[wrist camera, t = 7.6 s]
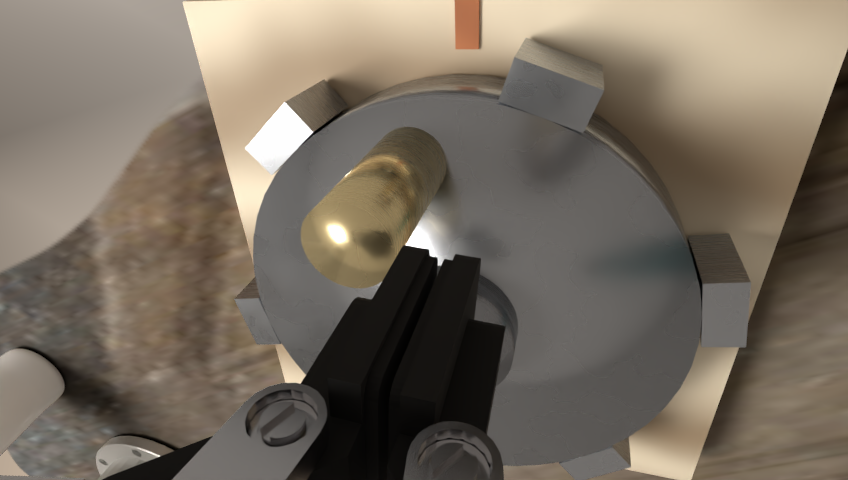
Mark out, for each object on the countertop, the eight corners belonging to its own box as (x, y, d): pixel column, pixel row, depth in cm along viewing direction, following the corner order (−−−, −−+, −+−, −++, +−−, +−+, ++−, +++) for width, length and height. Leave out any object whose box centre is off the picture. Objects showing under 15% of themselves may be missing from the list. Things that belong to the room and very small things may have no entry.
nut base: (684, 447, 26) (690, 484, 25) (306, 377, 32) (289, 402, 30) (841, -24, 15) (874, -18, 13) (214, -5, 21) (180, 2, 19)
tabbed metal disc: (718, 435, 23) (774, 653, 16) (336, 411, 29) (260, 557, 23) (740, -7, 14) (877, 54, 7) (199, 105, 21) (14, 189, 14)
